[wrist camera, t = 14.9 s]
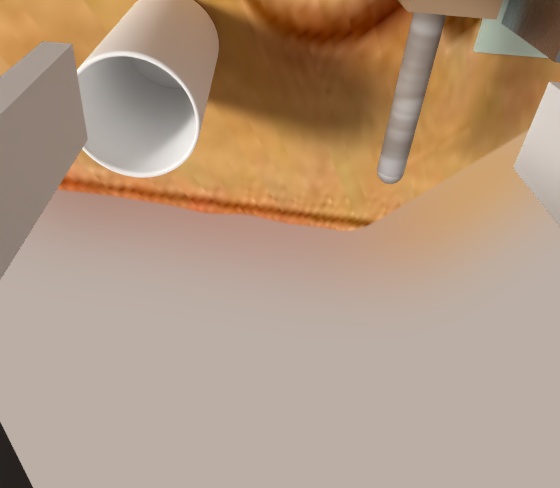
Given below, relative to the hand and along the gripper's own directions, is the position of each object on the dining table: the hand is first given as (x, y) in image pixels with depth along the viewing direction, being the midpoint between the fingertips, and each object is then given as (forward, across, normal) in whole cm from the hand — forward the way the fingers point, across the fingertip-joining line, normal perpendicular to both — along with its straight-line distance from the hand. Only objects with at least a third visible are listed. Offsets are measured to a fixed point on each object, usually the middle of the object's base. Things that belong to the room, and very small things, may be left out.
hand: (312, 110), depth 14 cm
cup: (+32, -9, -8) cm, 34 cm away
